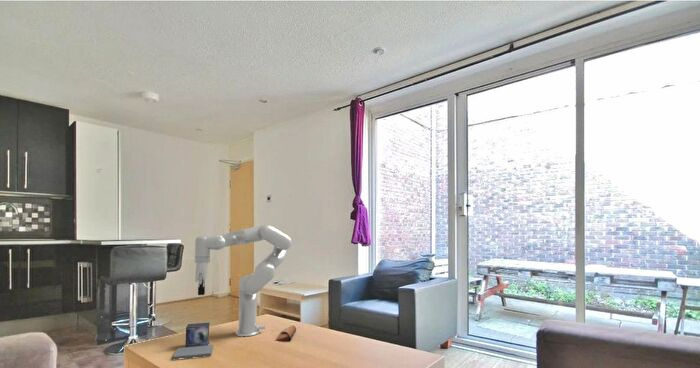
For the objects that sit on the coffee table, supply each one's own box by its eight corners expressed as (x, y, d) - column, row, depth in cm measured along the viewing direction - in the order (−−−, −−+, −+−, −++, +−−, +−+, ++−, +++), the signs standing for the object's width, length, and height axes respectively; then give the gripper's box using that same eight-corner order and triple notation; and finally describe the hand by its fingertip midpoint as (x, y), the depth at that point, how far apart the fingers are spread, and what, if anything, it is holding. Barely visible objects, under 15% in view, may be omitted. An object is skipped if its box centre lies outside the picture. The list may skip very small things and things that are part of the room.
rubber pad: (213, 348, 182) (213, 344, 182) (210, 356, 171) (211, 353, 171) (177, 351, 178) (178, 348, 178) (172, 360, 167) (173, 356, 167)
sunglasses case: (281, 331, 209) (287, 320, 209) (291, 337, 208) (297, 327, 209) (274, 341, 191) (281, 330, 191) (286, 349, 190) (292, 337, 191)
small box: (184, 349, 180) (185, 327, 181) (186, 345, 187) (187, 323, 188) (207, 347, 183) (208, 325, 184) (209, 343, 190) (209, 322, 191)
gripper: (196, 258, 206) (195, 292, 204) (192, 261, 191) (191, 297, 190) (211, 258, 208) (210, 291, 206) (208, 260, 193) (207, 297, 192)
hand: (201, 294), depth 198 cm, fingers closed
